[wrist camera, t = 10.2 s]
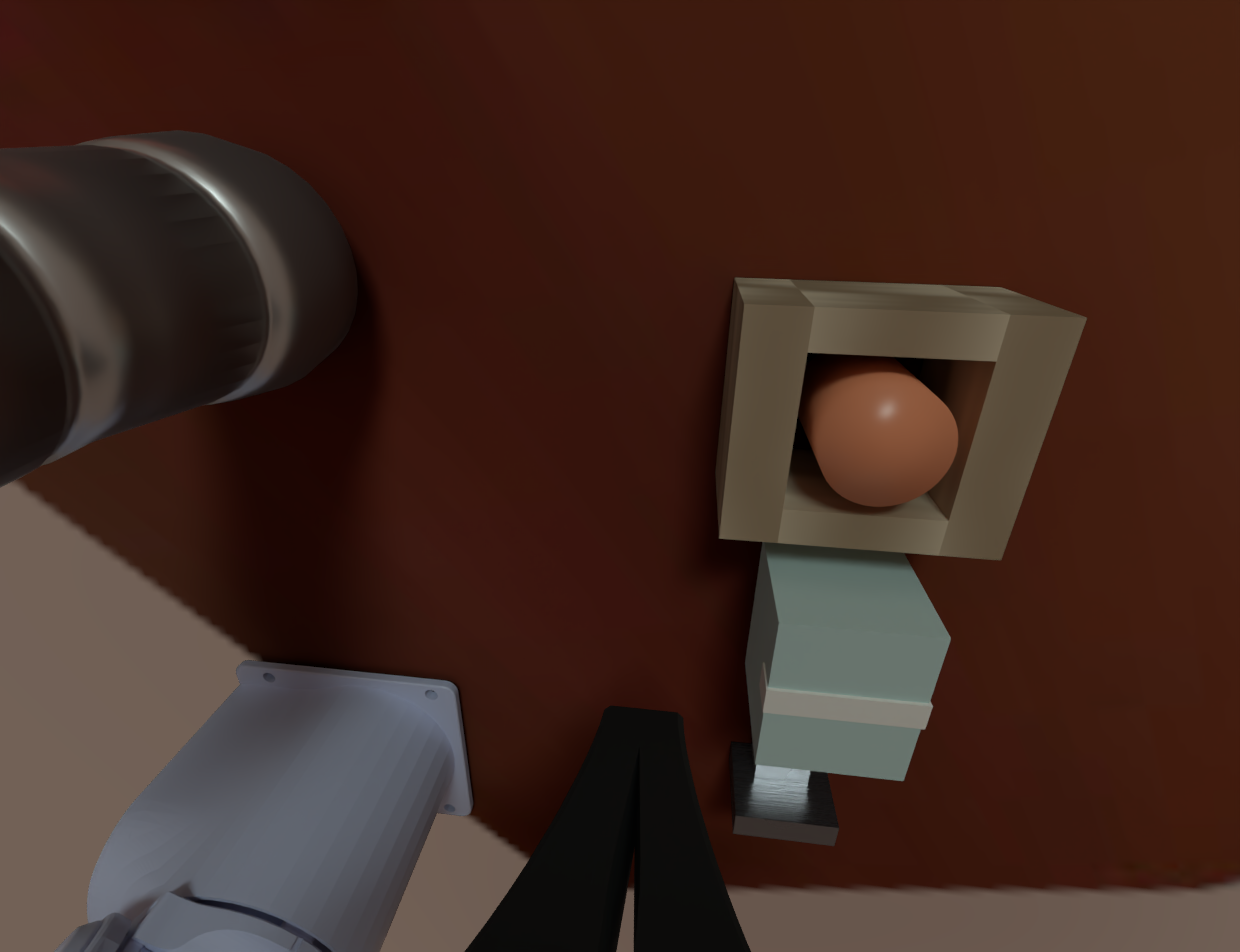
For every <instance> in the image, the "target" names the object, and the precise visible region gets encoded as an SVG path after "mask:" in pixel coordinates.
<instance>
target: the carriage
mask: <svg viewBox="0 0 1240 952" xmlns="http://www.w3.org/2000/svg"><path fill="white" fill-rule="evenodd" d="M950 640H951V638H950V636H949V634H948V632H947V630H946V629H945V627H944V625H943V623H942V621H941V620H940V618H939V616H938V614H937V612H936V610H935V609H934V607H933V605H932V603H931V601H930V600H929V598H928V596H927V594H926V592H925V591H924V589H923V587H922V585H921V583H920V581H919V580H918V578H917V576H916V574H915V572H914V571H913V569H912V567H911V565H910V563H909V562H908V560H907V558H906V556H905V554H904V553H900V552H887V551H874V550H861V549H848V548H835V547H822V546H809V545H796V544H783V543H770V542H762V549H761V555H760V562H759V569H758V576H757V583H756V590H755V597H754V604H753V611H752V618H751V625H750V632H749V638H748V645H747V652H746V659H745V668H746V678H747V688H748V699H749V709H750V719H751V730H752V740H753V750H754V761H755V765H764V766H773V767H782V768H791V769H800V770H809V771H818V772H827V773H836V774H845V775H854V776H862V777H871V778H880V779H889V780H898V781H904V778H905V775H906V772H907V769H908V766H909V763H910V760H911V757H912V754H913V751H914V748H915V745H916V742H917V739H918V736H919V733H920V730H921V729H925V728H926V725H927V722H928V719H929V716H930V713H931V710H932V707H933V706H932V704H931V702H930V700H931V697H932V694H933V691H934V688H935V685H936V682H937V679H938V676H939V673H940V670H941V667H942V664H943V661H944V658H945V655H946V652H947V649H948V646H949V643H950Z"/></svg>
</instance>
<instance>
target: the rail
mask: <svg viewBox="0 0 1240 952" xmlns="http://www.w3.org/2000/svg"><path fill="white" fill-rule="evenodd" d="M729 768H730V787H731V806H732V825H733V834H741V835H749V836H757V837H765V838H773V839H782V840H790V841H798V842H806V843H814V844H822V845H830V846H834V845H835V841H836V837H837V834H838V830H839V826H838V821H837V816H836V812H835V807H834V803H833V798H832V793H831V789H830V784H829V780H828V775H827V772H818V771H809V770H800V769H791V768H782V767H773V766H764V765H755V761H754V750H753V740H752V743H751V744H747V743H738V742H731V748H730V755H729Z"/></svg>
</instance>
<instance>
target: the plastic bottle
mask: <svg viewBox="0 0 1240 952" xmlns="http://www.w3.org/2000/svg"><path fill="white" fill-rule="evenodd" d="M357 297H358V285H357V271H356V267H355V263H354V259H353V255H352V251H351V248H350V245H349V243H348V241H347V239H346V236H345V234H344V232H343V229H342V227H341V225H340V224H339V222H338V220H337V219H336V217H335V216H334V214H333V213H332V211H331V210H330V208H329V206H328V205H327V204H326V202H325V201H324V200H323V199H322V198H321V197H320V196H319V195H318V193H317V192H316V191H315V190H314V189H313V188H312V187H311V186H310V184H308V183H307V182H306V181H305V180H304V179H302V178H301V177H300V176H299V175H297V174H296V173H295V172H294V171H293V170H291V169H290V168H289V167H287V166H285V165H284V164H282V163H280V162H278V161H277V160H275V159H273V158H271V157H270V156H268V155H266V154H263V153H260V152H257V151H254V150H252V149H249V148H246V147H243V146H240V145H237V144H234V143H231V142H228V141H225V140H222V139H219V138H216V137H213V136H210V135H207V134H202V133H194V132H187V131H179V130H177V131H166V132H154V133H143V134H132V135H122V136H112V137H106V138H101V139H97V140H92V141H88V142H83V143H80V144H77V145H75V146H51V147H28V148H4V149H0V487H2V486H4V485H6V484H8V483H10V482H12V481H14V480H17V479H19V478H21V477H22V476H24V475H26V474H28V473H29V472H31V471H33V470H35V469H37V468H38V467H40V466H41V465H45V464H49V463H51V462H53V461H55V460H57V459H59V458H61V457H63V456H65V455H67V454H69V453H71V452H73V451H75V450H77V449H79V448H81V447H83V446H85V445H88V444H90V443H92V442H94V441H96V440H99V439H103V438H106V437H109V436H112V435H115V434H118V433H121V432H124V431H127V430H130V429H133V428H136V427H139V426H142V425H145V424H148V423H151V422H154V421H157V420H160V419H163V418H166V417H169V416H172V415H175V414H178V413H181V412H184V411H187V410H190V409H193V408H196V407H199V406H202V405H211V404H217V403H223V402H229V401H234V400H238V399H242V398H246V397H250V396H254V395H258V394H261V393H265V392H268V391H272V390H276V389H279V388H283V387H286V386H289V385H290V384H292V383H294V382H296V381H298V380H300V379H302V378H304V377H305V376H306V375H307V374H309V373H310V372H311V371H312V370H313V369H314V368H315V367H316V366H318V365H319V364H320V363H321V362H322V361H323V360H324V359H325V358H327V357H328V356H329V355H330V354H331V353H332V352H333V351H334V350H335V349H337V348H338V347H339V345H340V344H341V342H342V341H343V339H344V338H345V336H346V335H347V333H348V332H349V330H350V327H351V324H352V321H353V319H354V316H355V313H356V305H357Z"/></svg>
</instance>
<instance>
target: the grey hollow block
mask: <svg viewBox="0 0 1240 952" xmlns="http://www.w3.org/2000/svg"><path fill="white" fill-rule="evenodd" d="M1086 319H1087V318H1086V317H1083V316H1081V315H1078V314H1075V313H1072V312H1069V311H1066V310H1064V309H1061V308H1058V307H1055V306H1052V305H1049V304H1047V303H1044V302H1041V301H1038V300H1035V299H1033V298H1030V297H1027V296H1024V295H1021V294H1018V293H1016V292H1013V291H1010V290H1007V289H1004V288H1001V287H980V286H952V285H924V284H897V283H869V282H841V281H814V280H786V279H758V278H734V288H733V298H732V308H731V318H730V328H729V338H728V349H727V359H726V369H725V379H724V389H723V400H722V410H721V420H720V430H719V440H718V450H717V461H716V471H715V476H716V493H717V510H718V527H719V539H731V540H744V541H757V542H770V543H783V544H796V545H809V546H822V547H835V548H848V549H861V550H874V551H887V552H900V553H913V554H926V555H939V556H952V557H965V558H978V559H991V560H1001V559H1002V556H1003V553H1004V550H1005V548H1006V545H1007V542H1008V539H1009V536H1010V533H1011V531H1012V528H1013V525H1014V522H1015V519H1016V517H1017V514H1018V511H1019V508H1020V505H1021V502H1022V500H1023V497H1024V494H1025V491H1026V488H1027V486H1028V483H1029V480H1030V477H1031V474H1032V471H1033V469H1034V466H1035V463H1036V460H1037V457H1038V455H1039V452H1040V449H1041V446H1042V443H1043V440H1044V438H1045V435H1046V432H1047V429H1048V426H1049V424H1050V421H1051V418H1052V415H1053V412H1054V409H1055V407H1056V404H1057V401H1058V398H1059V395H1060V393H1061V390H1062V387H1063V384H1064V381H1065V378H1066V376H1067V373H1068V370H1069V367H1070V364H1071V362H1072V359H1073V356H1074V353H1075V350H1076V347H1077V345H1078V342H1079V339H1080V336H1081V333H1082V331H1083V328H1084V325H1085V322H1086ZM807 353H826V354H847V355H868V356H889V357H910V358H924V360H923V364H922V368H921V372H920V376H919V381H920V382H922V383H923V384H924V385H925V386H926V387H927V388H928V389H929V390H930V391H931V392H933V393H934V394H935V395H936V396H937V397H938V398H939V399H940V400H941V401H942V402H943V403H944V404H945V405H946V406H947V407H948V408H949V410H950V411H951V413H952V414H953V417H954V419H955V421H956V425H957V429H958V447H957V452H956V455H955V458H954V460H953V463H952V464H951V466H950V468H949V470H948V471H947V473H946V474H945V476H944V477H943V478H942V479H941V480H940V481H939V482H938V483H937V484H936V485H935V486H934V487H933V488H932V489H930V490H929V491H927V492H926V493H925V494H923V495H921V496H919V497H917V498H915V499H913V500H911V501H908V502H905V503H902V504H898V505H893V506H886V507H872V506H865V505H861V504H857V503H854V502H852V501H849V500H847V499H846V498H844V497H842V496H841V495H839V494H838V493H837V492H836V491H835V490H834V489H833V488H832V487H831V486H830V485H829V484H828V482H827V481H826V479H825V477H824V476H823V473H822V471H821V469H820V466H819V464H818V462H817V459H816V457H815V455H814V452H813V450H808V449H792V448H793V442H794V436H795V429H796V423H797V417H798V410H799V404H800V397H801V391H802V385H803V378H804V372H805V366H806V359H807Z"/></svg>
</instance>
